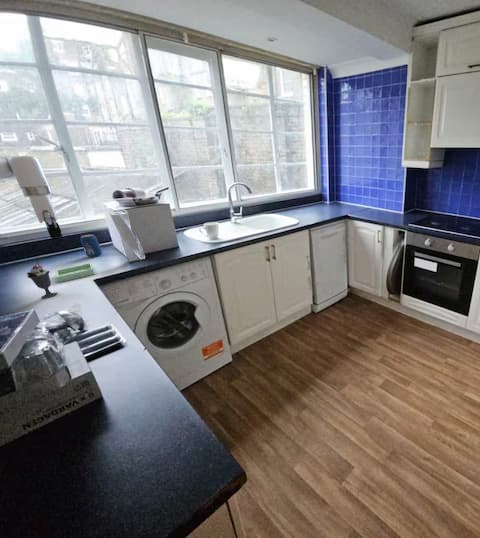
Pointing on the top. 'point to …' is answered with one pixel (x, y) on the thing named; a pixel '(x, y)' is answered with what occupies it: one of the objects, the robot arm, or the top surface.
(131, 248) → the skyscraper
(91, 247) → the soda can
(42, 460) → the top surface
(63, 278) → the tray
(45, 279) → the sundae
